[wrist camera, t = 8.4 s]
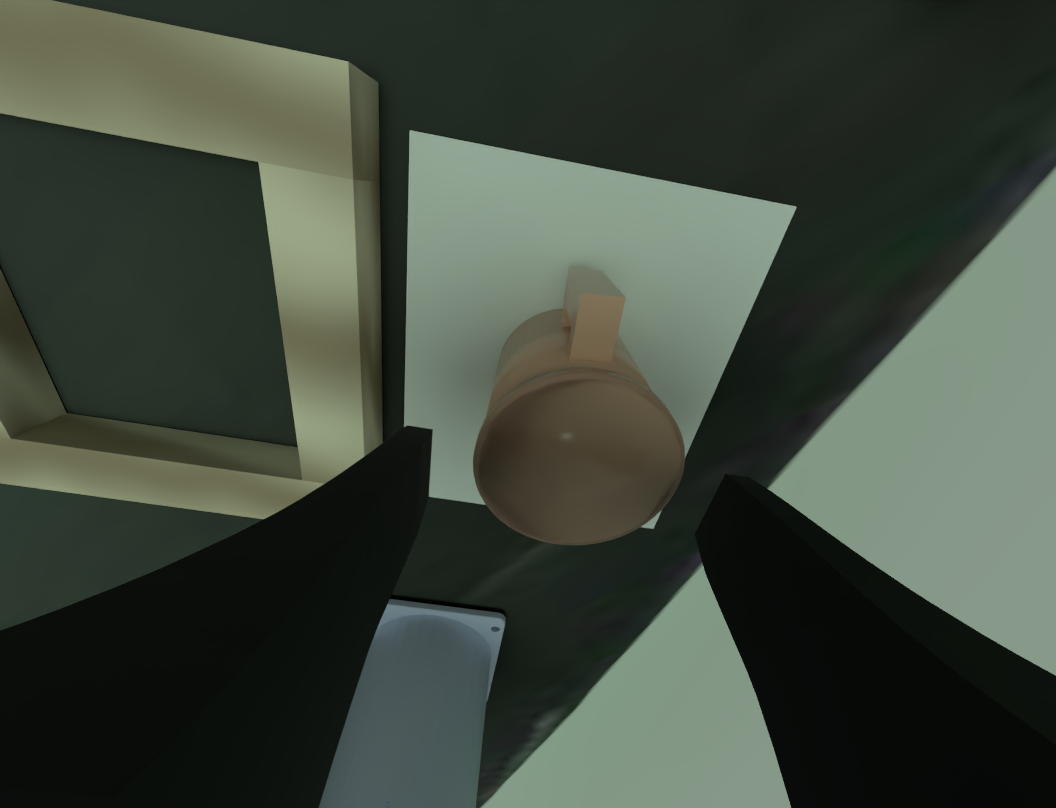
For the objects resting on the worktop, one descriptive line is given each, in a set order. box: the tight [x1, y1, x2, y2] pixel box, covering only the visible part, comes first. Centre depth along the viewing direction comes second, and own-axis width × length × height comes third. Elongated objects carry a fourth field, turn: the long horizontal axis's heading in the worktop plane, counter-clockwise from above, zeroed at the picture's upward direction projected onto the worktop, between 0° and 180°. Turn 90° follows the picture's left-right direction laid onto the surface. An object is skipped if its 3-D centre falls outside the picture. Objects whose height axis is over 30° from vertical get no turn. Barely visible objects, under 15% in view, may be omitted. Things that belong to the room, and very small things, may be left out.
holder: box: [0, 0, 383, 519], centre depth 13 cm, size 16×16×2 cm
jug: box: [473, 267, 685, 545], centre depth 12 cm, size 5×7×6 cm
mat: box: [404, 130, 796, 529], centre depth 15 cm, size 14×12×1 cm
